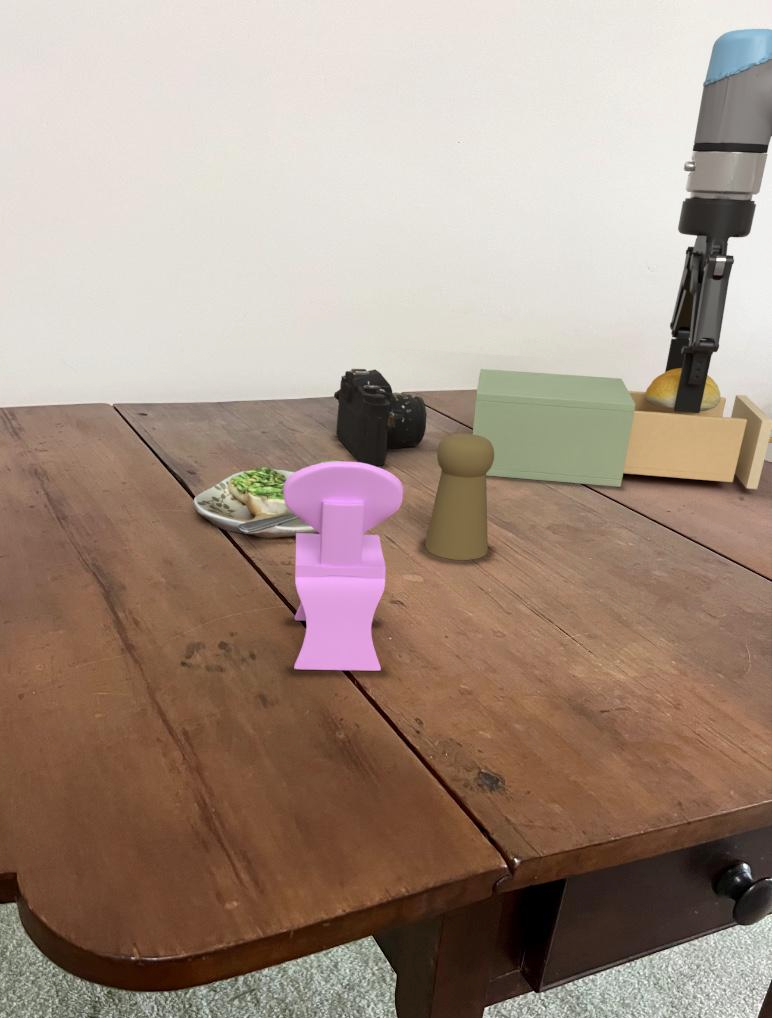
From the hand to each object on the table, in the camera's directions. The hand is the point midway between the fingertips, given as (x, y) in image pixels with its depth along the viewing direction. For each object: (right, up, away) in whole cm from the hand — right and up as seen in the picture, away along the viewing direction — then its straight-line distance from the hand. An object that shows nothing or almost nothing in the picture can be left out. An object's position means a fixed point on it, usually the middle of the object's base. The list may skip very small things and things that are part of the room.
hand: (679, 402), depth 110 cm
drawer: (+3, -8, +3) cm, 9 cm away
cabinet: (-15, -6, +6) cm, 17 cm away
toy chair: (-42, -27, -39) cm, 63 cm away
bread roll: (0, 0, 0) cm, 1 cm away
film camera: (-35, -4, +10) cm, 37 cm away
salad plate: (-46, -14, -13) cm, 50 cm away
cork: (-30, -19, -21) cm, 41 cm away
